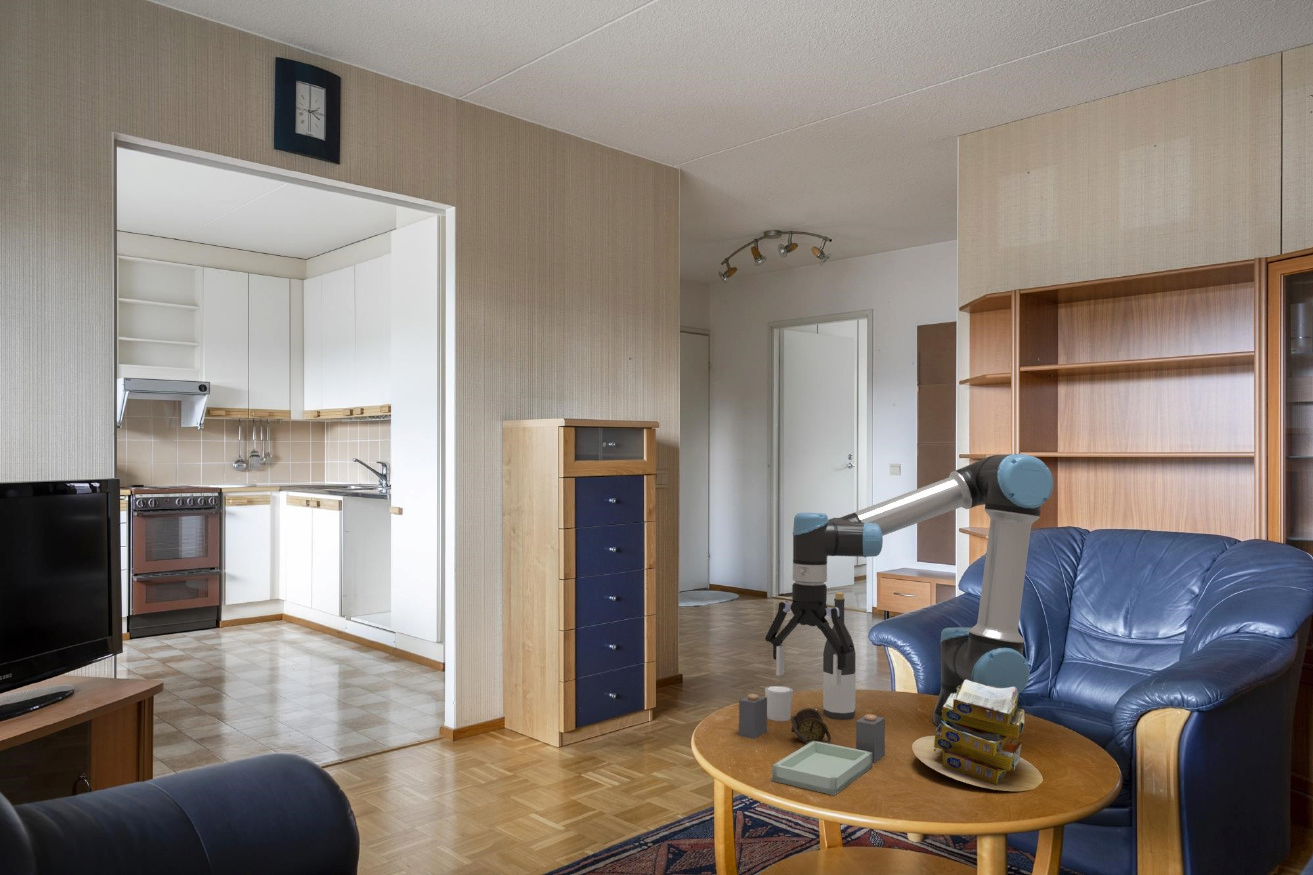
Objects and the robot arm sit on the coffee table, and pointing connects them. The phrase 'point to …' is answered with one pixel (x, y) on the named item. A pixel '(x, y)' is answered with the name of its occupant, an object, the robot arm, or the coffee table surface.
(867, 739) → the block
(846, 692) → the wine bottle
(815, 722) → the brown alarm clock
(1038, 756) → the coffee table surface
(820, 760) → the sage tray
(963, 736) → the plate of stacked boxes
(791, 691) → the light grey cylinder
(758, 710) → the far-side block
